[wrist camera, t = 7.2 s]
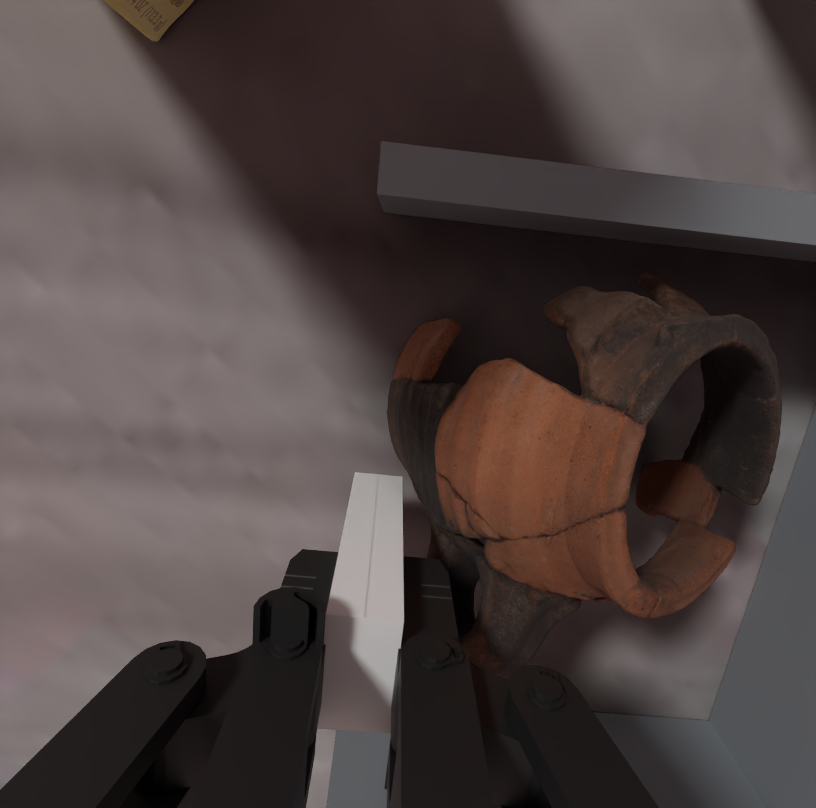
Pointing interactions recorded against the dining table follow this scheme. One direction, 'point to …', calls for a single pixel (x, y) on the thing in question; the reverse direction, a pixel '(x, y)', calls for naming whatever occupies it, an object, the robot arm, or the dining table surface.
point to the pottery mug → (582, 463)
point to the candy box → (150, 14)
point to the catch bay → (796, 523)
